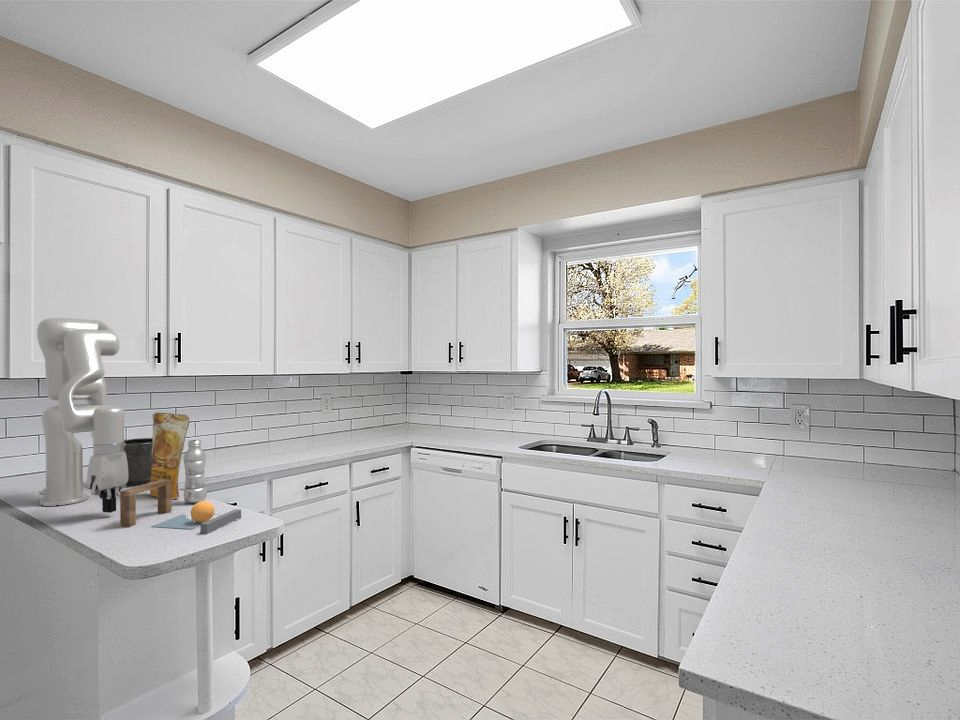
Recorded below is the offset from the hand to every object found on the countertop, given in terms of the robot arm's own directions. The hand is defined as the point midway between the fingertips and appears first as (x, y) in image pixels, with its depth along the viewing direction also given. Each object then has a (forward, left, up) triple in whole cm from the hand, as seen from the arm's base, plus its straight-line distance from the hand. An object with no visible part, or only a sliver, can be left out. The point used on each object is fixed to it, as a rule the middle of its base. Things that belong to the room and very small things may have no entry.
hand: (109, 511), depth 155 cm
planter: (-28, +38, -2) cm, 47 cm away
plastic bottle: (+14, +18, -2) cm, 23 cm away
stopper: (+39, -2, -2) cm, 39 cm away
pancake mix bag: (-2, +24, -2) cm, 24 cm away
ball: (+32, 0, +2) cm, 32 cm away
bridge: (+13, 0, -2) cm, 13 cm away
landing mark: (+27, 0, -2) cm, 27 cm away
